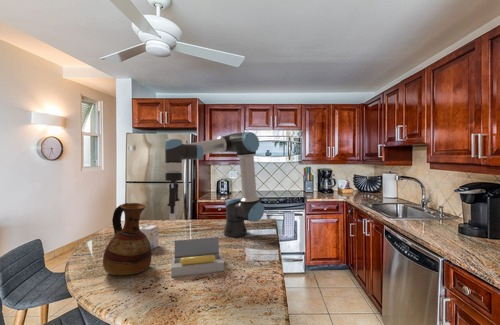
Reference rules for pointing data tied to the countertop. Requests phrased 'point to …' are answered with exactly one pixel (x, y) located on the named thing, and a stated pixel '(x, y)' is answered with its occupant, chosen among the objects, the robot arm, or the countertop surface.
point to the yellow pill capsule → (197, 259)
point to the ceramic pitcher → (127, 243)
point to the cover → (196, 247)
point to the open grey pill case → (196, 267)
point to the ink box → (150, 233)
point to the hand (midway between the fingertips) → (173, 217)
